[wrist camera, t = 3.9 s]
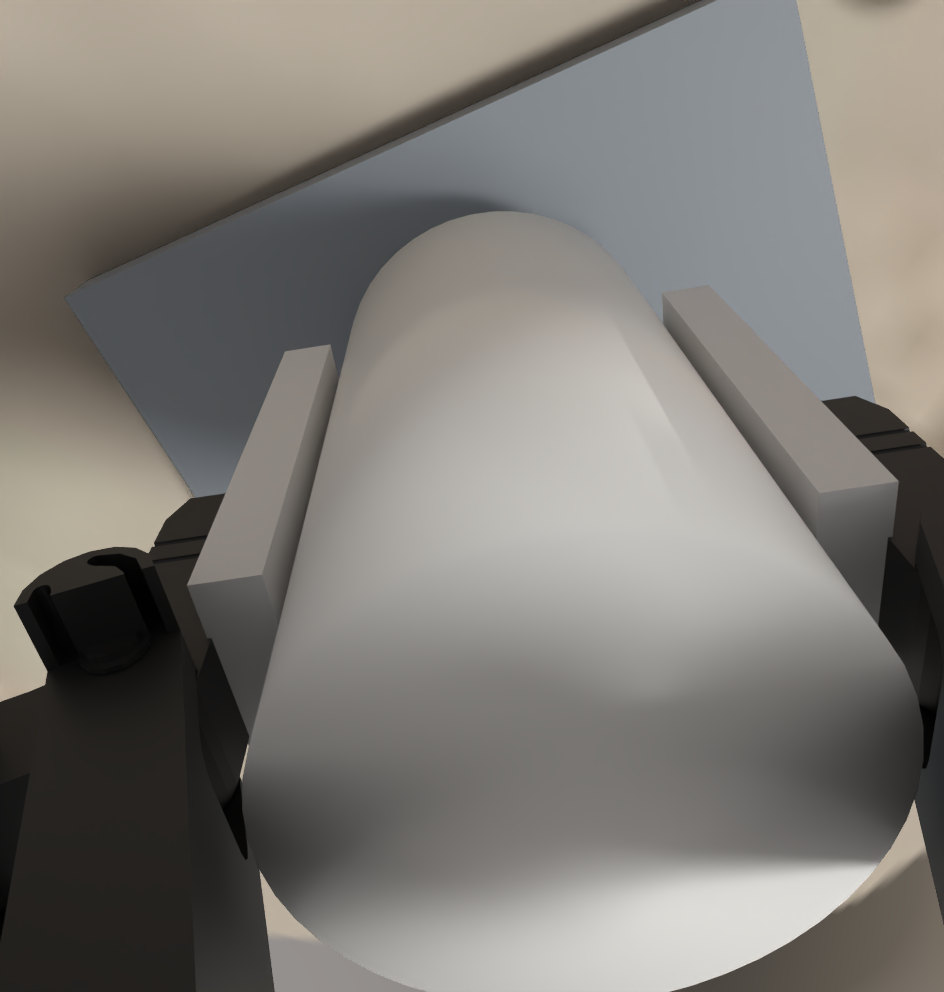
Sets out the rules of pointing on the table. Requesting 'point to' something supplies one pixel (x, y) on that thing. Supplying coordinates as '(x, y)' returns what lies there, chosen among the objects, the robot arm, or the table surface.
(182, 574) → the robot arm
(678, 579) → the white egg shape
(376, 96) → the table surface
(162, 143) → the table surface
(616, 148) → the board
